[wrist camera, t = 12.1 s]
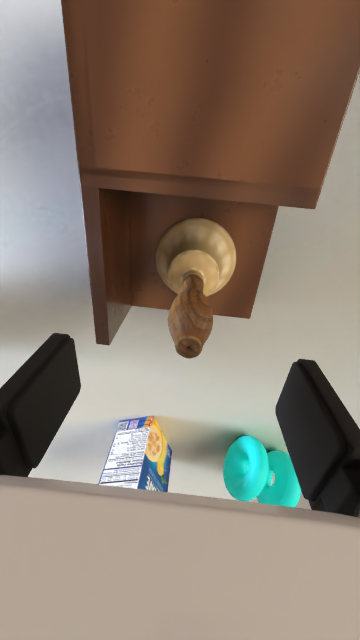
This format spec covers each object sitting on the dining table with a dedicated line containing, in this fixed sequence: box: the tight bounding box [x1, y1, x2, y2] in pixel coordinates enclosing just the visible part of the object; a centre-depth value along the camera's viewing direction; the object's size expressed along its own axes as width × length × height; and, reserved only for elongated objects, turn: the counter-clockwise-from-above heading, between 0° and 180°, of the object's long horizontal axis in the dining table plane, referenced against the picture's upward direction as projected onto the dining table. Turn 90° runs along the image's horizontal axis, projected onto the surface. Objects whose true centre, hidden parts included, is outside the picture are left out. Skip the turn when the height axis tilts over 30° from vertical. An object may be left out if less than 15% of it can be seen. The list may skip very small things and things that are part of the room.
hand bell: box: [156, 217, 236, 358], centre depth 19 cm, size 8×8×16 cm
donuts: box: [223, 436, 301, 508], centre depth 43 cm, size 10×10×10 cm
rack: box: [61, 0, 360, 345], centre depth 21 cm, size 15×26×13 cm, turn 175°
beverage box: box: [98, 416, 172, 492], centre depth 39 cm, size 7×11×22 cm, turn 17°
